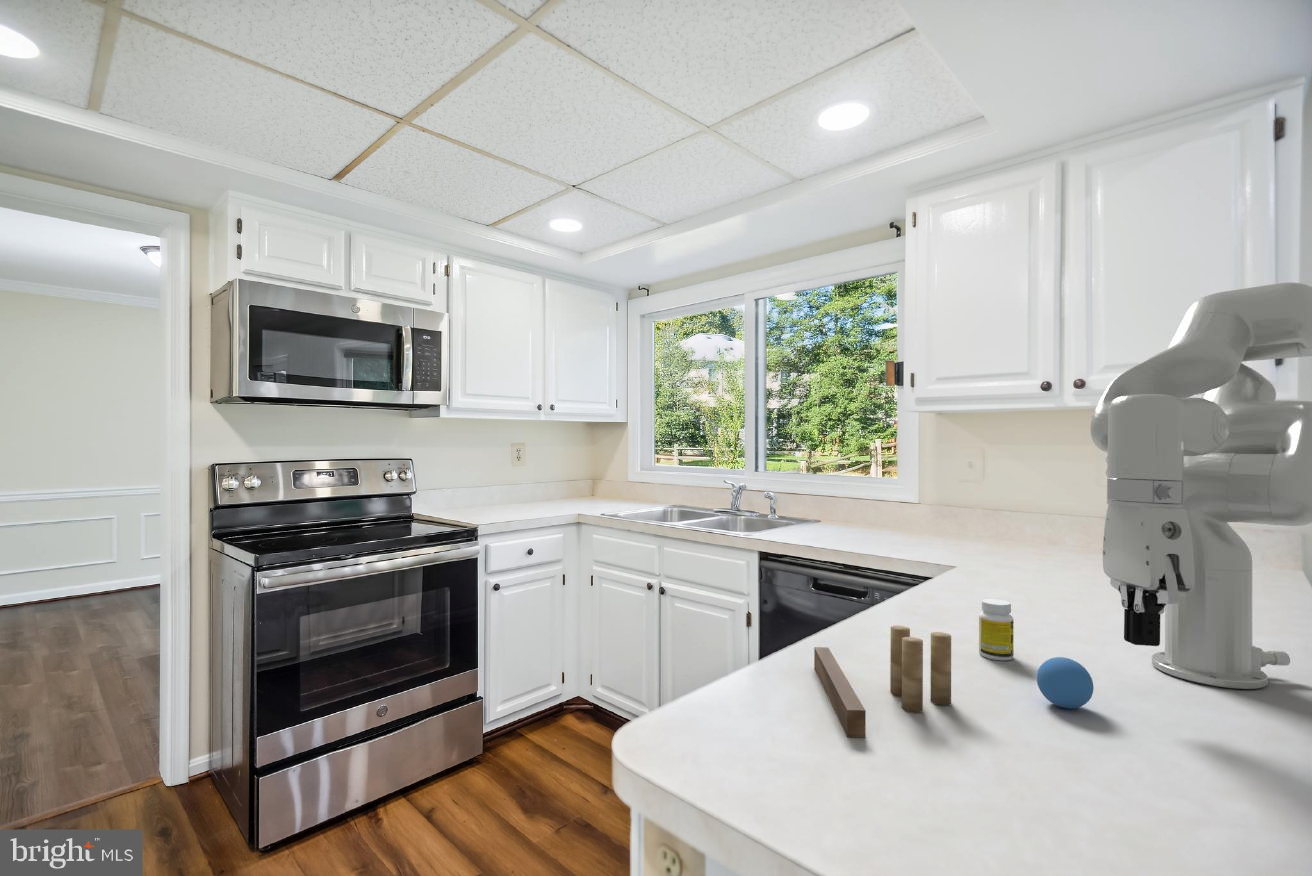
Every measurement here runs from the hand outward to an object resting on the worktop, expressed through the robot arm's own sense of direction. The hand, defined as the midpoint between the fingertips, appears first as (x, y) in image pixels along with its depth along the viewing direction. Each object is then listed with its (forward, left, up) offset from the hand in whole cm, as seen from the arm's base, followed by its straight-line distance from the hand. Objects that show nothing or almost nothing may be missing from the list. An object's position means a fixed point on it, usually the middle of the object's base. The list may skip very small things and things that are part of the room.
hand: (1141, 643), depth 79 cm
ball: (+9, -1, -5) cm, 10 cm away
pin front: (+24, -1, -8) cm, 25 cm away
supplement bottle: (+9, -20, -9) cm, 23 cm away
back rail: (+37, -1, -8) cm, 38 cm away
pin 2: (+28, +2, -8) cm, 29 cm away
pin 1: (+28, -3, -8) cm, 29 cm away
